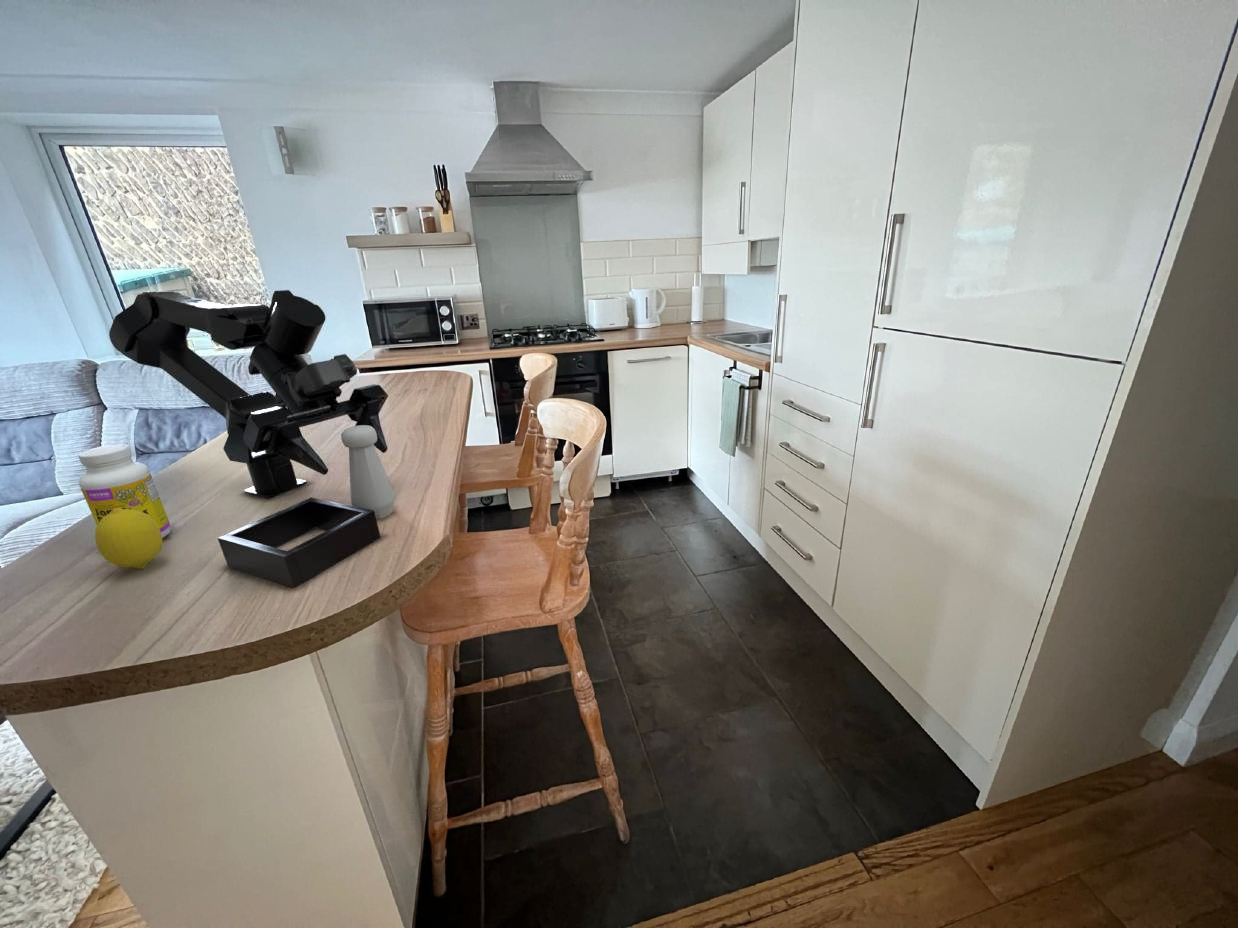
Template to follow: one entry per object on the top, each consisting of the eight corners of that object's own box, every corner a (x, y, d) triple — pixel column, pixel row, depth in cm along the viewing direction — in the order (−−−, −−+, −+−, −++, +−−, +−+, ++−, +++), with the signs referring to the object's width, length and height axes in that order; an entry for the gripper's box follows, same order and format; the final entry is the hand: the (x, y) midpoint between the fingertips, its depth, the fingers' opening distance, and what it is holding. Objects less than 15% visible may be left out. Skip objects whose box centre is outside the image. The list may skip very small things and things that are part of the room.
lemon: (136, 557, 64) (111, 500, 61) (182, 554, 64) (159, 497, 61) (98, 582, 58) (68, 521, 56) (148, 579, 59) (121, 517, 56)
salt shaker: (393, 520, 71) (373, 432, 66) (349, 525, 70) (326, 436, 65) (402, 503, 76) (384, 420, 71) (362, 507, 75) (341, 423, 70)
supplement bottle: (99, 557, 64) (54, 463, 59) (118, 535, 70) (78, 447, 65) (165, 543, 67) (128, 452, 62) (179, 523, 72) (145, 438, 68)
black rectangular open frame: (227, 567, 61) (217, 537, 59) (318, 522, 71) (311, 497, 69) (294, 588, 56) (284, 557, 55) (380, 537, 66) (374, 510, 65)
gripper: (226, 348, 60) (305, 449, 59) (367, 329, 75) (431, 410, 74) (214, 406, 66) (285, 498, 65) (345, 378, 81) (404, 452, 80)
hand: (357, 461), depth 71 cm, fingers open, 9 cm apart
